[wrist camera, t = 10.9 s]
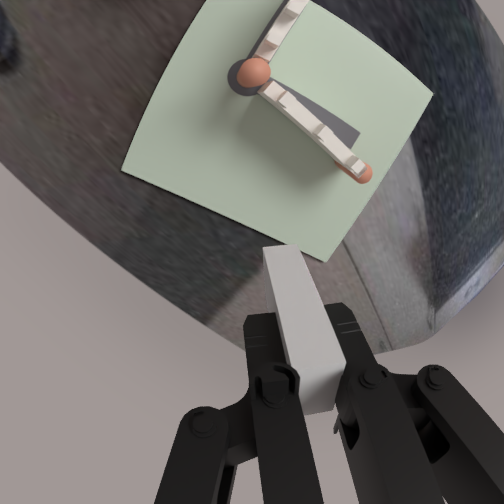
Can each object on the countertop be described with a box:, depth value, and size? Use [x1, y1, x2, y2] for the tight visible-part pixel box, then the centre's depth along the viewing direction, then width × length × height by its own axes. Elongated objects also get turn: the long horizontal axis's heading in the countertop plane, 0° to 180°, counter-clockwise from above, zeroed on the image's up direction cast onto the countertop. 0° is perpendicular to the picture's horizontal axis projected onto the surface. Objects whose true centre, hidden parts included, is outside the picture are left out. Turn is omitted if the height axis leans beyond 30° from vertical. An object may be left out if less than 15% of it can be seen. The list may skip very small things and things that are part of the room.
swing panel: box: [257, 81, 373, 184], centre depth 24 cm, size 11×2×6 cm, turn 50°
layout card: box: [121, 0, 433, 262], centre depth 26 cm, size 24×23×1 cm
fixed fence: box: [237, 0, 309, 88], centre depth 19 cm, size 2×12×8 cm, turn 151°
